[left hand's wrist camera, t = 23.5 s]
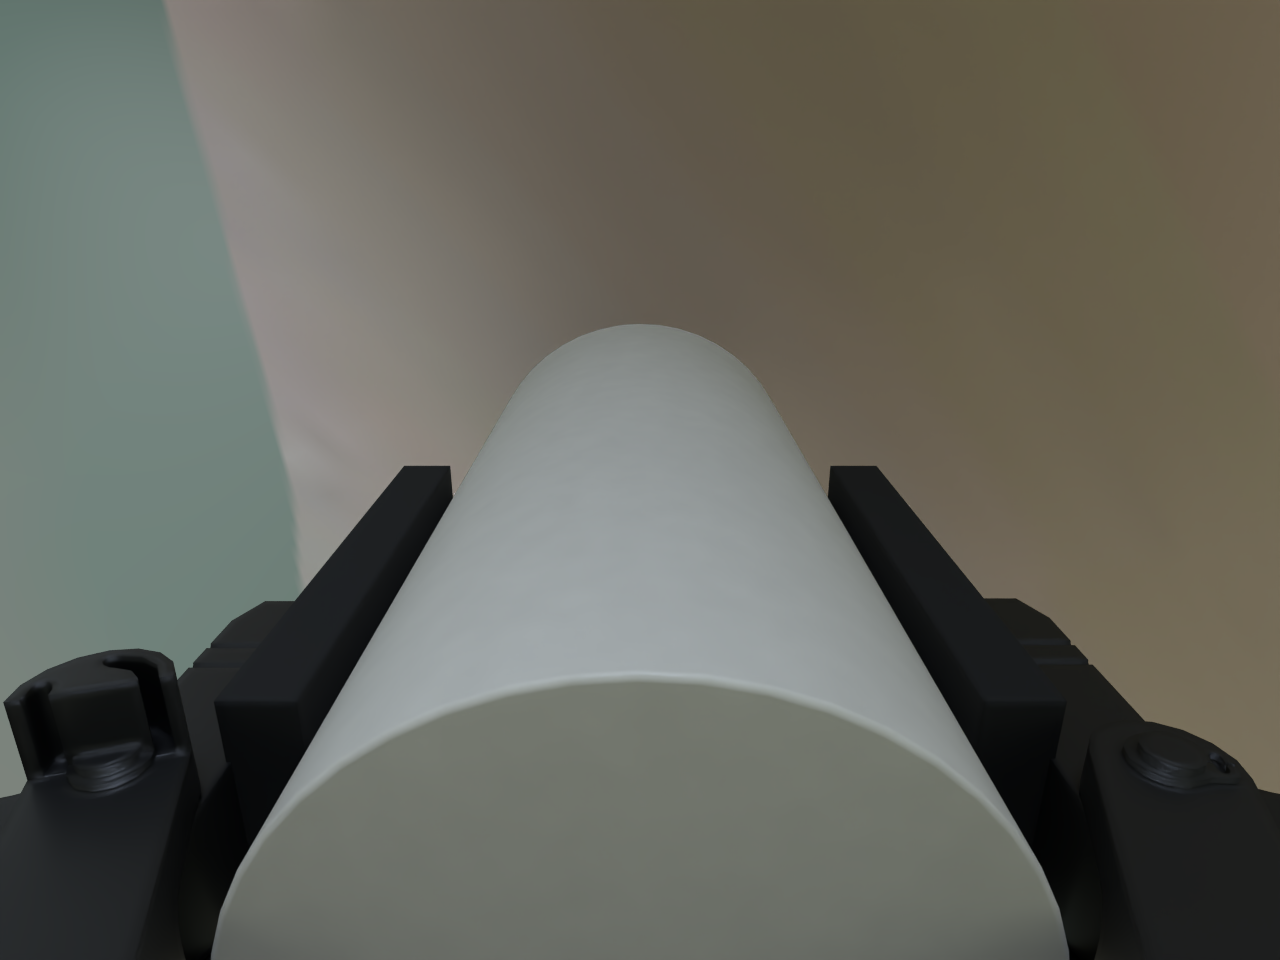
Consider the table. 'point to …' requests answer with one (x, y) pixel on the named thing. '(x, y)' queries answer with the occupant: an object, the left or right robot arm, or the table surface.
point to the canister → (640, 715)
